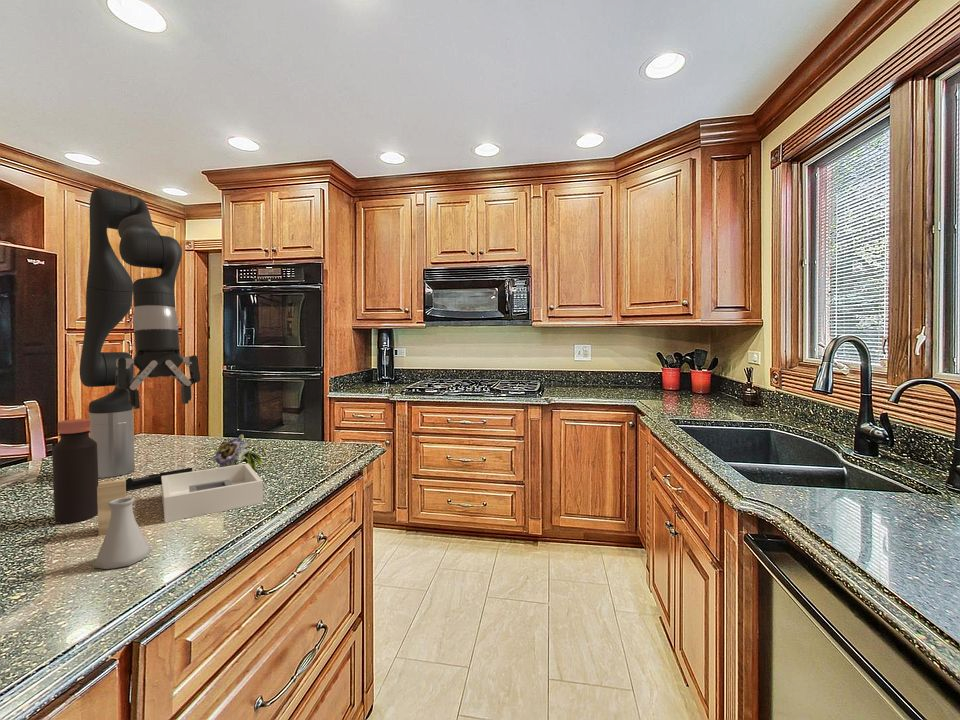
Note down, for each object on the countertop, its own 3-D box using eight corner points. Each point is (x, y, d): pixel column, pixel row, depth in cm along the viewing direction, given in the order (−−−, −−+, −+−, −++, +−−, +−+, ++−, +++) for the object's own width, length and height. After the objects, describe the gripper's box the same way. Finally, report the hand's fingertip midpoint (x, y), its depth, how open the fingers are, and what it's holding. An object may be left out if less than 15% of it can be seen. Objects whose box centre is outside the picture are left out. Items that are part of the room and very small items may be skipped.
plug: (100, 528, 85) (98, 482, 84) (126, 523, 87) (125, 479, 87) (98, 536, 82) (97, 488, 81) (126, 530, 84) (124, 484, 84)
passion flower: (225, 493, 121) (198, 458, 120) (253, 474, 131) (228, 442, 130) (251, 474, 117) (223, 438, 117) (277, 456, 128) (252, 423, 127)
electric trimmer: (194, 480, 117) (194, 468, 116) (120, 494, 105) (120, 481, 105) (189, 477, 119) (189, 465, 119) (116, 491, 107) (116, 478, 107)
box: (161, 497, 102) (161, 476, 102) (248, 482, 113) (247, 463, 113) (164, 522, 88) (164, 498, 87) (263, 502, 99) (262, 480, 98)
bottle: (107, 510, 94) (104, 417, 93) (84, 523, 87) (81, 423, 87) (71, 512, 93) (67, 418, 92) (45, 525, 86) (41, 424, 85)
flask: (116, 550, 76) (114, 493, 76) (160, 548, 77) (158, 492, 76) (82, 571, 69) (80, 509, 69) (131, 569, 70) (129, 507, 69)
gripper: (190, 331, 100) (194, 402, 100) (109, 330, 89) (114, 410, 89) (201, 327, 95) (205, 402, 95) (116, 326, 84) (122, 410, 84)
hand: (161, 406), depth 92 cm, fingers open, 8 cm apart
